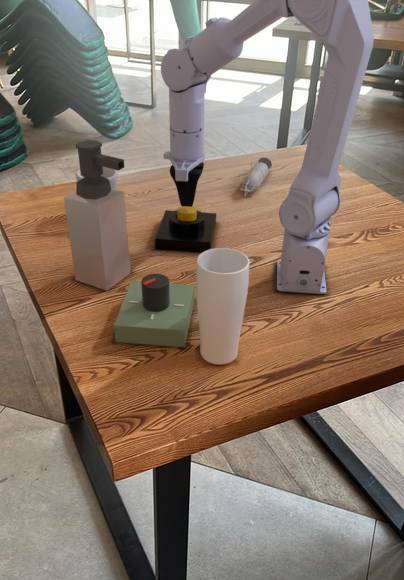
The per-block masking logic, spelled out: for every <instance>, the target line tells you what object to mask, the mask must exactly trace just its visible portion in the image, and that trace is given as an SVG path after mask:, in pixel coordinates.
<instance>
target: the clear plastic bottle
mask: <svg viewBox="0 0 404 580" xmlns="http://www.w3.org/2000/svg"><path fill="white" fill-rule="evenodd" d="M272 168H273V161H272V159H271V158H269V157H268V156H267V157H266V156H263V157H260V158H259V159H258V161H257V162H256V163H255V164H254V165H253V162H250V170H249V171H248V173H246V175H245V177H243V180H242V182H239V185H241V188H240V191H243V192H244V195H243V196H244V197H246V196H247V195H248V194H249V193H251V194H252V193H254V192H256V191H257V190H258V189H259V188H261V184H262V183H263V181H264V180H265V179H266V177H267V176H268V175H269V173H270V172H271V170H272Z"/></svg>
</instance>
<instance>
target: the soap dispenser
mask: <svg viewBox="0 0 404 580" xmlns="http://www.w3.org/2000/svg"><path fill="white" fill-rule="evenodd" d="M102 147H103V142H101V141H99V140H96V139H95V140H94V139H85V140H82V141H79V142H77V143H76V144H75V148H76V149H77V153H78V162H79V170H80V172H81V176H83V177H84V178H82V179H81V180H79V181H78V182H77V181H76V186H75V188H76V189H75V190H74V191H72V192H70V193H68V194H66V195H64V196H63V201H64V209H65V216H66V224H67V229H68V236H69V244H70V250H71V257H72V264H73V271H74V278H75V279H74V280H75V281H78V282H81V283H83V284H86V285H89V286H93V287H95V288H98V289H100V290H103V291H109V290H110V289H111V288H113V287H114V286H116V285H117V284H118V283H119V282H121V281H122V280H124V279H125V278H126V277H128V276H129V275H130V274H131V262H130V251H129V249H130V248H129V237H128V235H129V234H128V224H127V210H126V209H127V208H126V196H125V190H121V189H118V188H117V189H113V188H111V186H110V182H109V179H107V178H105V177H103V176H101V175H102V174H103V167H107V168H110V169H114V170H116V171H120V170H122V169H125V159H124V158H121V157H120V158H119V157H115V156H110V155H106V154H102Z"/></svg>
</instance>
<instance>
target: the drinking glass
mask: <svg viewBox="0 0 404 580" xmlns="http://www.w3.org/2000/svg"><path fill="white" fill-rule="evenodd" d="M195 262H196V263H195V299H196V307H197V309H196V310H197V321H198V333H199V354H200V355H201V357H202V359H203V360H204V361H206V362H207V363H209V364H213V365H218V366H219V365H220V366H221V365H223V366H224V365H226V364H227V365H228V364H231V363H232V362H234V361H235V360H236V358H237V357H238V355H239V348H240V347H239V346H240V338H241V333H242V327H243V322H244V316H245V312H246V311H245V310H246V305H247V299H248V294H249V293H248V292H249V283H250V266H251V265H250V259H249V257H248V256H247V255H246V254H245V252H244V253H243V252H242V251H239V250H237V249H234V248H229V247H215V248H211V249H210V250H206V251H204V252H200V254H199V255H198V256H197V257H196V261H195Z"/></svg>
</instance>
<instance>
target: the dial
mask: <svg viewBox="0 0 404 580" xmlns="http://www.w3.org/2000/svg"><path fill="white" fill-rule="evenodd" d="M140 282H141V285H142V302H143V307H144V308H145V309H147V310H149V311H162V310H165V309H166V308H168V307H169V305H170V293H169V284H170V278H169V277H168V276H167V275H165V274H163V273H149V274H147V275H145V276H143V277H142V278H141V281H140Z"/></svg>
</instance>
